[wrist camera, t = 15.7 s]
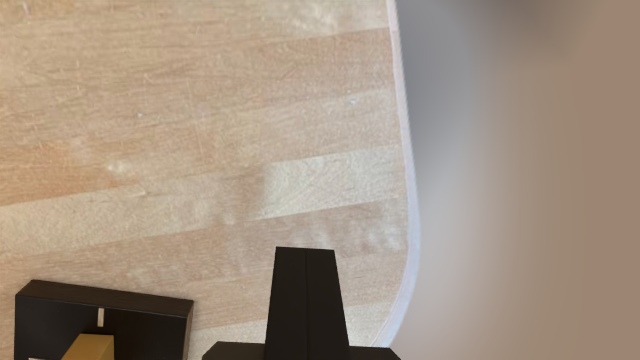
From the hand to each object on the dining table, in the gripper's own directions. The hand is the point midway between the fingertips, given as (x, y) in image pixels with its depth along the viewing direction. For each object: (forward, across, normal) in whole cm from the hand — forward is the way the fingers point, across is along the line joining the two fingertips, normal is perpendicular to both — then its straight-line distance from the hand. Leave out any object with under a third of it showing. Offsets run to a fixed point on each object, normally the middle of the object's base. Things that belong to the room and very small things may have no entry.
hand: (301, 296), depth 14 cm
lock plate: (+24, -14, -18) cm, 33 cm away
